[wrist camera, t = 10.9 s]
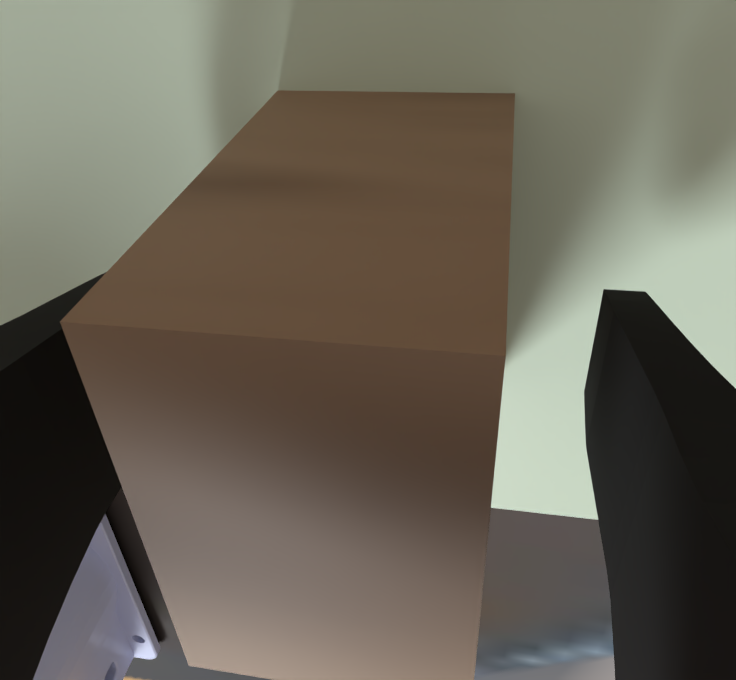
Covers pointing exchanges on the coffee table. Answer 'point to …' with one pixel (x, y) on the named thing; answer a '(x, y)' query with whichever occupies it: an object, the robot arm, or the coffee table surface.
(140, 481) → the tall cardboard box
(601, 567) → the coffee table surface
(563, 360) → the pitch
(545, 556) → the coffee table surface
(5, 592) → the robot arm
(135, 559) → the coffee table surface
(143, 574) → the coffee table surface
